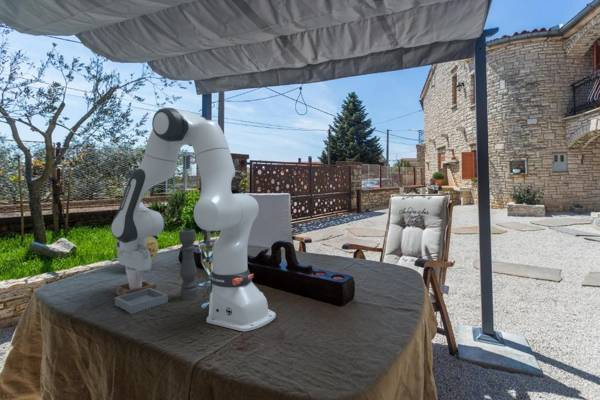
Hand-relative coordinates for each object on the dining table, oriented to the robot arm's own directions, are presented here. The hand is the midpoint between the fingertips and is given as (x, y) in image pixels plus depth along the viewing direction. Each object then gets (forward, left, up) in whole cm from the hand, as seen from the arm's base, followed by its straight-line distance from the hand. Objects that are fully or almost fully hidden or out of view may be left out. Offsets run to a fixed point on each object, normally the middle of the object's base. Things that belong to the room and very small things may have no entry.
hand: (135, 278), depth 125 cm
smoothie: (0, 0, -6) cm, 6 cm away
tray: (-13, +4, -6) cm, 15 cm away
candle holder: (-21, -10, -6) cm, 24 cm away
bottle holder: (0, 0, -6) cm, 6 cm away
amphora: (+32, -17, -6) cm, 37 cm away
